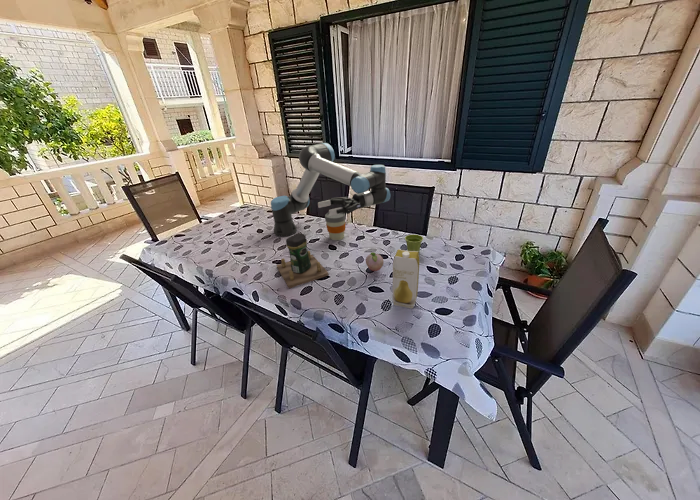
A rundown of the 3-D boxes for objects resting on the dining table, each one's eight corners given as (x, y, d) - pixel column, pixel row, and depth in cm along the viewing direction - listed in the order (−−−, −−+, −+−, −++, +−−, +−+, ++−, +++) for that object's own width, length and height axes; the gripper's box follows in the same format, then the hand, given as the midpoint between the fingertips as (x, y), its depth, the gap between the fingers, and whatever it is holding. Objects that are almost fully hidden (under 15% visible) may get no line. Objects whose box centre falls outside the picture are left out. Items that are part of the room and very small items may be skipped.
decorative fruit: (386, 273, 130) (386, 255, 125) (370, 277, 128) (369, 259, 123) (379, 264, 138) (378, 247, 133) (364, 267, 136) (363, 250, 131)
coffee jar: (302, 262, 141) (296, 230, 133) (313, 266, 137) (308, 233, 128) (288, 271, 134) (282, 237, 126) (300, 275, 130) (294, 241, 122)
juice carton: (391, 306, 109) (391, 254, 97) (395, 294, 115) (396, 244, 104) (414, 311, 105) (418, 257, 94) (417, 298, 112) (421, 247, 100)
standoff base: (276, 267, 141) (274, 257, 139) (312, 256, 149) (311, 247, 146) (289, 288, 124) (286, 277, 121) (328, 275, 132) (327, 264, 129)
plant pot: (401, 253, 146) (401, 238, 142) (410, 246, 152) (411, 232, 148) (416, 258, 141) (417, 243, 136) (425, 251, 146) (426, 237, 142)
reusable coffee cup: (351, 237, 168) (349, 214, 161) (334, 243, 162) (332, 220, 155) (339, 231, 177) (337, 209, 170) (323, 237, 171) (320, 214, 164)
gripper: (375, 214, 129) (335, 224, 121) (351, 201, 148) (315, 209, 140) (375, 198, 125) (333, 208, 117) (350, 187, 145) (313, 195, 137)
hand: (323, 208), depth 129 cm, fingers open, 13 cm apart
